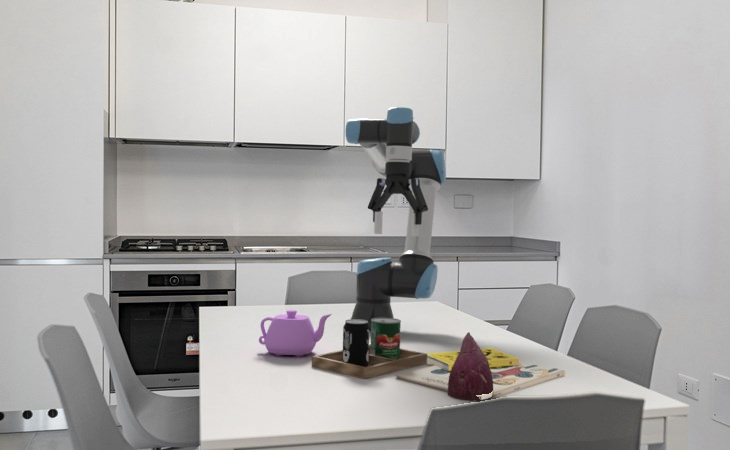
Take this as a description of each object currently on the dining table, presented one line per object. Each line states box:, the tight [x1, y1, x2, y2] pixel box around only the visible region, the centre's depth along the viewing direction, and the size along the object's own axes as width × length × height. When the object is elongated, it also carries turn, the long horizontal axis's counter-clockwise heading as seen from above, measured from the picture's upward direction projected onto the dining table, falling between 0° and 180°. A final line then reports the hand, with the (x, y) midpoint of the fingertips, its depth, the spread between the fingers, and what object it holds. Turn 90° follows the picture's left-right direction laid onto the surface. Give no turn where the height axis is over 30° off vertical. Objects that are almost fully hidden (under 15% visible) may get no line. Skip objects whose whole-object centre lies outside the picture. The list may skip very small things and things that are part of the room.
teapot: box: [258, 309, 333, 357], centre depth 196 cm, size 20×13×12 cm, turn 87°
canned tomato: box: [370, 318, 402, 360], centre depth 189 cm, size 8×8×11 cm
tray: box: [311, 343, 428, 380], centre depth 185 cm, size 18×25×2 cm
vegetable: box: [447, 331, 494, 402], centre depth 159 cm, size 10×10×15 cm
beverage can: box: [341, 318, 370, 367], centre depth 180 cm, size 7×7×12 cm
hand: (396, 235), depth 207 cm, fingers open, 13 cm apart
